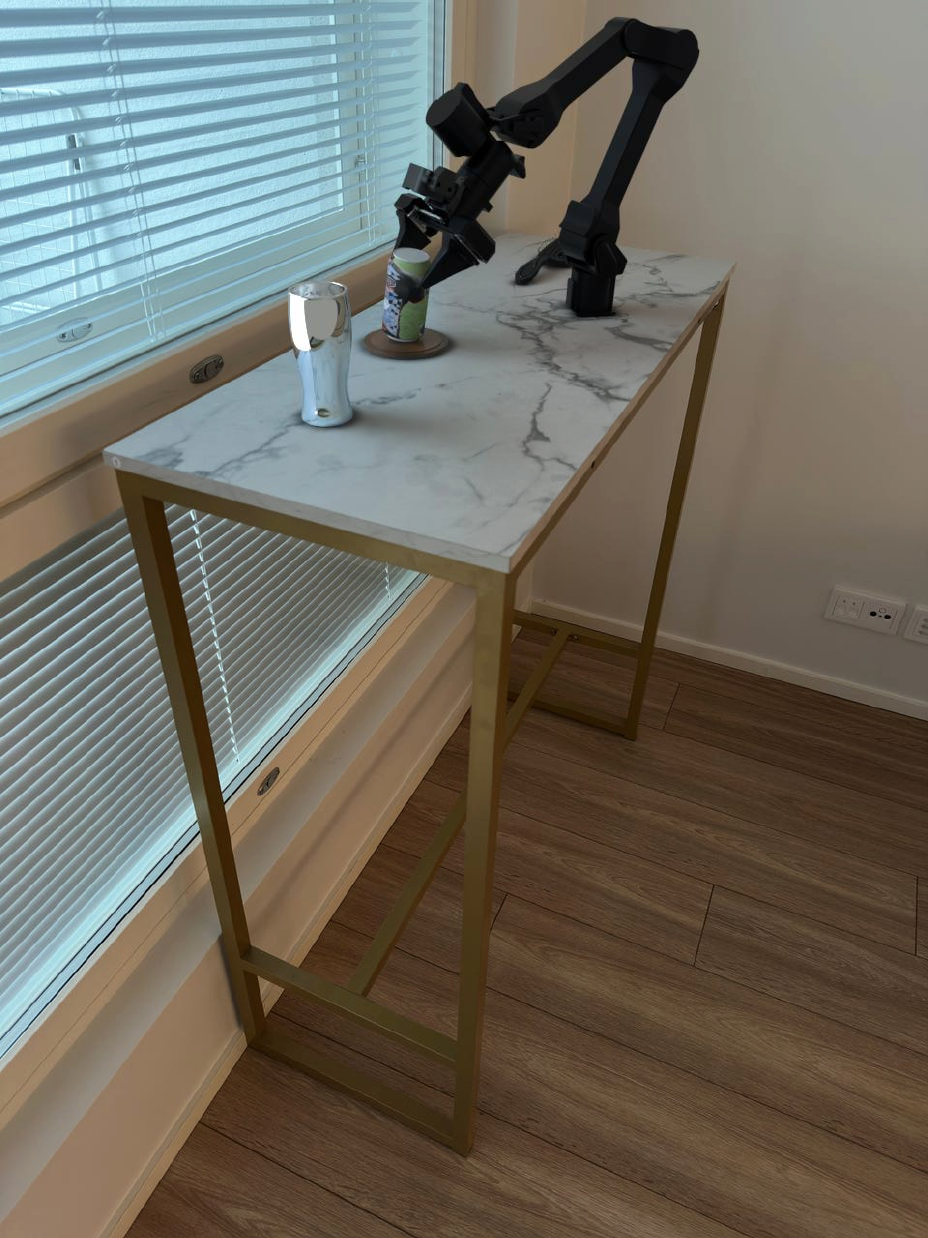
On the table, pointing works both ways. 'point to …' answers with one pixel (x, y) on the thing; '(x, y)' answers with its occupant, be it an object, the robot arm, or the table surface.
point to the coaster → (406, 345)
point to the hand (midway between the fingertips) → (406, 278)
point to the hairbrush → (541, 262)
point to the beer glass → (322, 349)
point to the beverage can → (406, 295)
